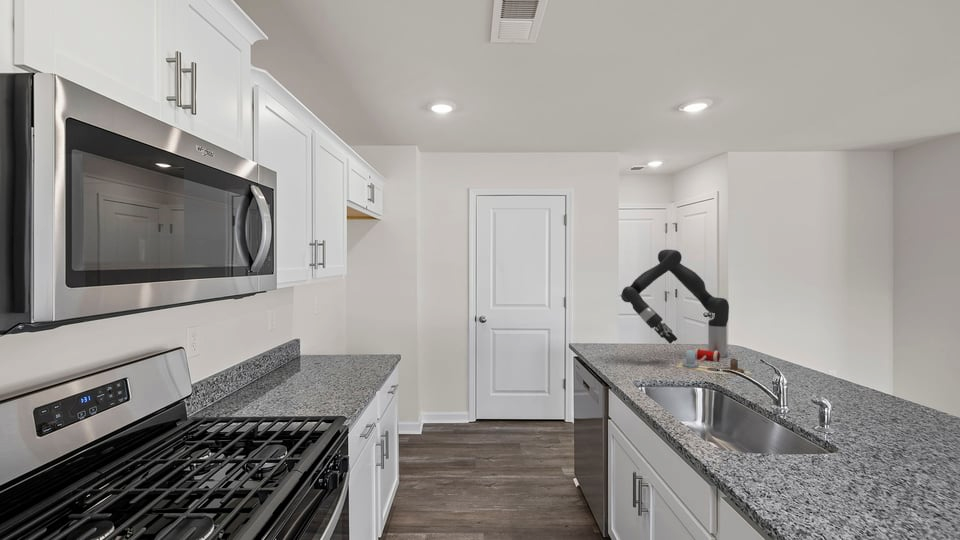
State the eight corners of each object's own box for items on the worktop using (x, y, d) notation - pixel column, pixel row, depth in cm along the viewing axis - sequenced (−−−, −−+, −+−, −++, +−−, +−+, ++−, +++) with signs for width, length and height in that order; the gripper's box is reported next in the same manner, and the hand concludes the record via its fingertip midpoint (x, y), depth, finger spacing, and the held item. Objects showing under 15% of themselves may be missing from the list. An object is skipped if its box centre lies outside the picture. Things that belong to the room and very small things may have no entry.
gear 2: (725, 369, 214) (725, 355, 214) (744, 371, 209) (745, 358, 209) (723, 372, 208) (723, 358, 208) (743, 375, 203) (743, 361, 203)
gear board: (680, 365, 228) (680, 362, 228) (750, 373, 210) (750, 370, 210) (674, 370, 218) (674, 367, 218) (747, 379, 200) (747, 376, 200)
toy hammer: (708, 369, 220) (708, 357, 220) (683, 366, 228) (683, 353, 228) (720, 361, 237) (720, 350, 237) (696, 358, 245) (696, 347, 245)
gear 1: (684, 364, 225) (684, 348, 224) (699, 366, 220) (699, 350, 220) (681, 367, 219) (681, 351, 219) (696, 369, 215) (696, 352, 215)
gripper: (652, 313, 223) (676, 338, 217) (659, 311, 235) (682, 334, 228) (641, 323, 227) (664, 348, 220) (649, 320, 238) (671, 343, 231)
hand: (674, 341), depth 224 cm, fingers open, 8 cm apart
